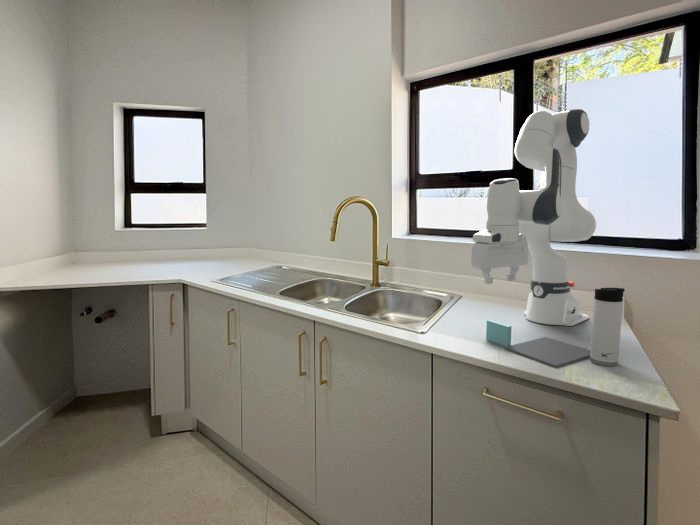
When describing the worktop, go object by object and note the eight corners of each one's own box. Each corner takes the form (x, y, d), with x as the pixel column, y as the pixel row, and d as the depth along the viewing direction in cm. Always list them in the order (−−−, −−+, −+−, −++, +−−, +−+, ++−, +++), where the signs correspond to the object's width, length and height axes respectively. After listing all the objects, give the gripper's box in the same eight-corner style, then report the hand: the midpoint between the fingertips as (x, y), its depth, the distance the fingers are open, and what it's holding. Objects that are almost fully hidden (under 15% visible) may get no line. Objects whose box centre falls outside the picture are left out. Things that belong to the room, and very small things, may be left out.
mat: (545, 338, 126) (545, 336, 126) (597, 354, 112) (598, 352, 112) (504, 349, 118) (504, 347, 118) (555, 367, 104) (556, 365, 104)
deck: (489, 338, 127) (490, 319, 126) (510, 346, 120) (511, 326, 119) (486, 339, 127) (486, 320, 126) (507, 346, 120) (508, 326, 119)
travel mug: (608, 368, 103) (614, 290, 100) (584, 359, 109) (589, 285, 106) (624, 364, 105) (631, 287, 102) (600, 356, 111) (605, 283, 108)
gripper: (517, 233, 127) (515, 277, 128) (468, 235, 117) (466, 283, 119) (535, 234, 121) (532, 280, 123) (485, 237, 111) (483, 287, 113)
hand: (500, 282), depth 121 cm, fingers open, 8 cm apart
